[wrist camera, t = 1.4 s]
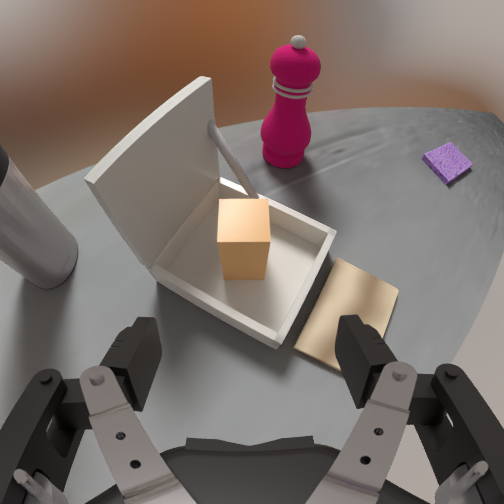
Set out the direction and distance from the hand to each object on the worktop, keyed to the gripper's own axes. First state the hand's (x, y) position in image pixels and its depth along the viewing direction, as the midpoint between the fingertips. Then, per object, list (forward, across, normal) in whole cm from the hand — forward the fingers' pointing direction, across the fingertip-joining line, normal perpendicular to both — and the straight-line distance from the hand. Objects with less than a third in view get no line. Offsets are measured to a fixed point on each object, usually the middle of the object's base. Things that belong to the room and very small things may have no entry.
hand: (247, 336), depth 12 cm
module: (+21, 0, +4) cm, 22 cm away
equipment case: (+22, 0, +5) cm, 22 cm away
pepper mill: (+35, -6, -8) cm, 36 cm away
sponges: (+37, -40, -9) cm, 55 cm away
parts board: (+17, -12, +10) cm, 23 cm away
